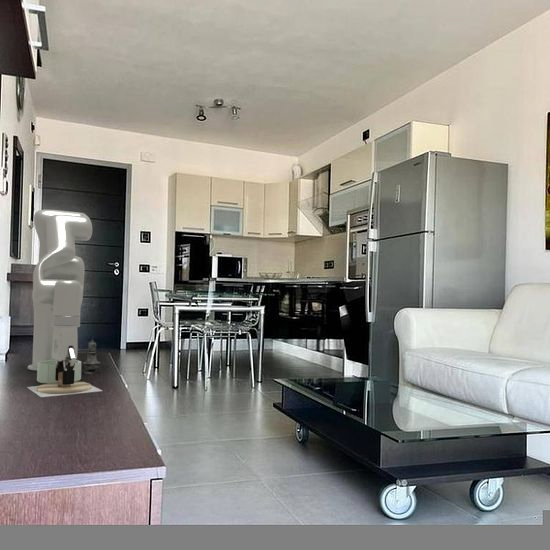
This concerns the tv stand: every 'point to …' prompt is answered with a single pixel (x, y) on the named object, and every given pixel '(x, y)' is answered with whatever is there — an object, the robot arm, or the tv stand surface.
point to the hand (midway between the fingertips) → (64, 381)
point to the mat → (34, 389)
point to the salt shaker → (91, 359)
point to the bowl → (54, 371)
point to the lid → (63, 387)
